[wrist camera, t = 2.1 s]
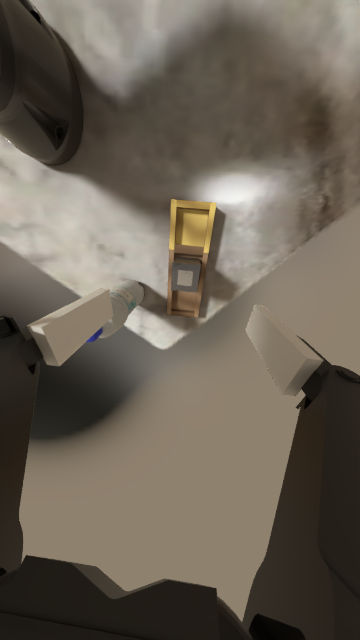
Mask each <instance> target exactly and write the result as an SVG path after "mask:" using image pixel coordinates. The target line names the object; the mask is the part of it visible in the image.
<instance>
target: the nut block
mask: <svg viewBox="0 0 360 640" xmlns="http://www.w3.org/2000/svg"><path fill="white" fill-rule="evenodd" d="M200 267H201V264H200V261H199V258H193V257H182V256H178V257H177V258H176V259H175V260H174V261H173V262H172V276H171V290H175V291H185V292H195V293H197V288H198V281H199V274H200Z"/></svg>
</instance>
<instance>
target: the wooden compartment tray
mask: <svg viewBox="0 0 360 640" xmlns="http://www.w3.org/2000/svg"><path fill="white" fill-rule="evenodd" d="M215 209H216V203H211V202H198V201H186V200H174V199H171V218H170V244H169V272H168V298H167V314H169V315H179V316H188V317H197V318H198V314H199V308H200V302H201V295H202V289H203V283H204V277H205V271H206V264H207V258H208V252H209V246H210V240H211V234H212V228H213V221H214V215H215ZM178 256H182V257H193V258H199V261H200V264H201V267H200V274H199V281H198V288H197V293H195V292H185V291H175V290H171V276H172V262H173V261H174V260H175V259H176V258H177V257H178Z"/></svg>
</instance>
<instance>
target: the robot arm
mask: <svg viewBox="0 0 360 640" xmlns="http://www.w3.org/2000/svg"><path fill="white" fill-rule="evenodd" d="M82 129H83V109H82V101H81V95H80V91H79V86H78V83H77V79H76V76H75V73H74V71H73V68H72V66H71V63H70V61H69V59H68V56H67V55H66V53H65V51H64V49H63V47H62V45H61V44H60V42H59V40H58V39H57V37H56V36H55V34H54V33H53V31H52V30H51V28H50V27H49V25H48V24H47V23H46V21H45V20H44V18H43V17H42V15H41V14H40V13H39V11H38V10H37V9H36V8H35V6H34V5H33V4H32V3H31V2H30V1H29V0H0V134H1V135H3V136H4V137H5V138H6V139H7V140H8V141H9V142H10V143H11V144H12V145H14V146H15V147H16V148H17V149H19V150H20V151H22V152H23V153H25V154H27V155H29V156H30V157H32V158H34V159H36V160H38V161H40V162H43V163H46V164H50V165H58V164H62V163H64V162H66V161H68V160H69V159H70V158H71V157H72V156H73V155H74V154H75V152H76V150H77V148H78V146H79V143H80V140H81V136H82ZM113 316H114V315H113V309H112V303H111V297H110V291H109V289H103V288H101V289H99V290H97V291H95V292H93V293H91V294H89V295H87V296H85V297H83V298H81V299H79V300H77V301H75V302H73V303H71V304H69V305H67V306H65V307H63V308H61V309H59V310H57V311H55V312H53V313H51V314H49V315H47V316H45V317H43V318H41V319H39V320H37V321H35V322H33V323H31V324H29V325H27V327H25V328H23V329H21V330H20V329H19V327H18V325H17V323H16V321H15V319H14V318H13V316H12V315H6V314H4V315H0V640H360V376H359V375H358V374H356V373H354V372H353V371H350V370H349V369H346V368H344V367H341V366H336V365H331V364H330V363H329V362H328V361H327V360H326V359H325V358H323V357H322V356H321V355H320V354H319V353H318V352H317V351H315V349H313V348H312V347H311V346H310V345H309V344H308V343H307V342H306V341H304V340H303V339H301V338H300V337H298V336H296V335H295V334H294V333H293V332H292V331H291V330H290V329H289V328H288V327H286V326H285V325H284V324H283V323H282V322H281V321H280V320H279V319H278V318H277V317H276V316H274V315H273V314H272V313H271V312H270V311H269V310H268V309H267V308H266V307H265V306H263V305H254V308H253V311H252V313H251V316H250V319H249V322H248V324H247V327H246V330H245V331H246V333H247V334H248V336H249V338H250V340H251V341H252V343H253V345H254V347H255V348H256V350H257V352H258V354H259V355H260V357H261V359H262V360H263V362H264V364H265V366H266V367H267V369H268V371H269V373H270V374H271V376H272V378H273V379H274V381H275V383H276V385H277V386H278V388H279V390H280V392H281V393H282V394H284V395H292V396H296V395H297V394H298V392H299V391H300V390H301V389H302V390H303V392H304V393H305V394H306V396H305V397H304V398H303V399H302V401H301V402H300V403H299V404H298V405H297V407H296V408H297V409H299V407H301V408H300V412H299V416H298V421H297V425H296V429H295V434H294V438H293V442H292V446H291V451H290V455H289V459H288V464H287V468H286V472H285V476H284V480H283V485H282V489H281V493H280V497H279V502H278V506H277V510H276V515H275V519H274V523H273V527H272V532H271V536H270V540H269V545H268V549H267V552H266V556H265V558H264V561H263V562H262V564H261V566H260V567H259V569H258V571H257V573H256V575H255V578H254V580H253V584H252V587H251V590H250V594H249V598H248V603H247V606H246V610H245V614H244V618H243V622H241V621H240V619H239V618H238V617H237V615H236V614H235V613H234V612H233V611H232V610H231V609H230V608H229V606H227V605H226V603H225V602H224V601H223V600H221V599H220V598H219V597H218V596H217V591H216V588H212V587H207V586H203V585H199V584H193V583H187V582H181V581H176V580H170V579H162V580H159V581H157V582H154V583H151V584H148V585H146V586H143V587H140V588H138V589H135V590H132V591H124V590H123V589H122V588H121V587H119V586H118V585H117V584H116V583H115V582H114V581H112V580H111V579H110V578H109V577H108V576H107V575H106V574H104V573H103V572H102V571H101V570H100V569H99V568H97V567H95V566H90V565H84V564H78V563H72V562H66V561H61V560H54V559H48V558H40V557H34V556H28V555H26V556H25V558H24V560H23V562H22V564H21V561H22V552H23V532H22V528H21V525H20V521H19V507H20V500H21V493H22V486H23V479H24V473H25V466H26V459H27V452H28V445H29V438H30V431H31V424H32V418H33V410H34V404H35V397H36V391H37V383H38V377H39V370H40V365H39V363H38V361H39V360H40V359H42V358H44V360H45V361H46V363H47V365H54V366H60V365H61V364H62V363H63V362H65V360H67V359H68V358H69V357H70V356H71V355H72V354H73V353H74V352H75V351H76V350H77V349H78V348H80V347H81V346H82V345H83V344H84V343H85V342H86V341H87V340H88V339H89V338H90V337H91V336H93V335H94V334H95V333H96V332H97V331H98V330H99V329H100V328H101V327H102V326H103V325H104V324H105V323H106V322H108V321H109V320H110V319H111V318H112V317H113Z"/></svg>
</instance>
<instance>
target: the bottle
mask: <svg viewBox="0 0 360 640" xmlns="http://www.w3.org/2000/svg"><path fill="white" fill-rule="evenodd" d="M110 297H111V303H112V309H113V315H114V316H113V317H112V318H111V319H110V320H109V321H108V322H106V323H105V324H104V325H103V326H102V327H101V328H100V329H99V330H98V331H97V332H96V333H95V334H94V335H93V336H91V337H90V338H89V339H88V340H87V341H86V342H92V341H95V340H96V339H97V338H106V337H109V336H111V335H112V334H113V333H114V332H115V331H117V330H118V329H119V328H121V327H122V326H123V324H124V323H125V322H126V320H127V316H128V315H129V314H130V313H131V312H132V311H133V309H134V308H135V307H136V306H138V305H139V304H140V303H141V301H142V300H143V298H144V289H143V287H142V286H140V285H139V284H138V282H137V281H132V280H126V281H123V282H122V283H120V284H119V285H118V286H117V287H115V288H114V289H112V290H110Z"/></svg>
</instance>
